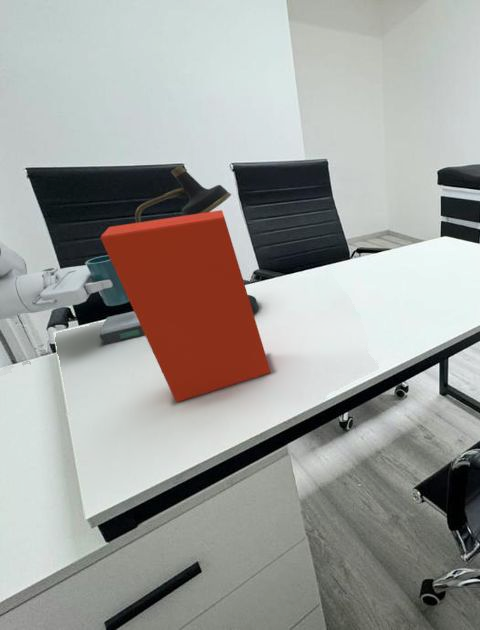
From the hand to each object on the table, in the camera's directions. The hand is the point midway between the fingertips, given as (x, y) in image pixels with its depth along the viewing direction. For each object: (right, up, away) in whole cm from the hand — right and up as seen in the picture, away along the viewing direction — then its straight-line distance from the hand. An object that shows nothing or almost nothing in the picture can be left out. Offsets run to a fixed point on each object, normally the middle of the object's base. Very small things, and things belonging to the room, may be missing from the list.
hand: (114, 277), depth 95 cm
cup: (0, -6, +2) cm, 6 cm away
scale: (0, -13, +6) cm, 15 cm away
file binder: (+36, -22, -16) cm, 45 cm away
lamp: (+21, -10, +10) cm, 26 cm away
